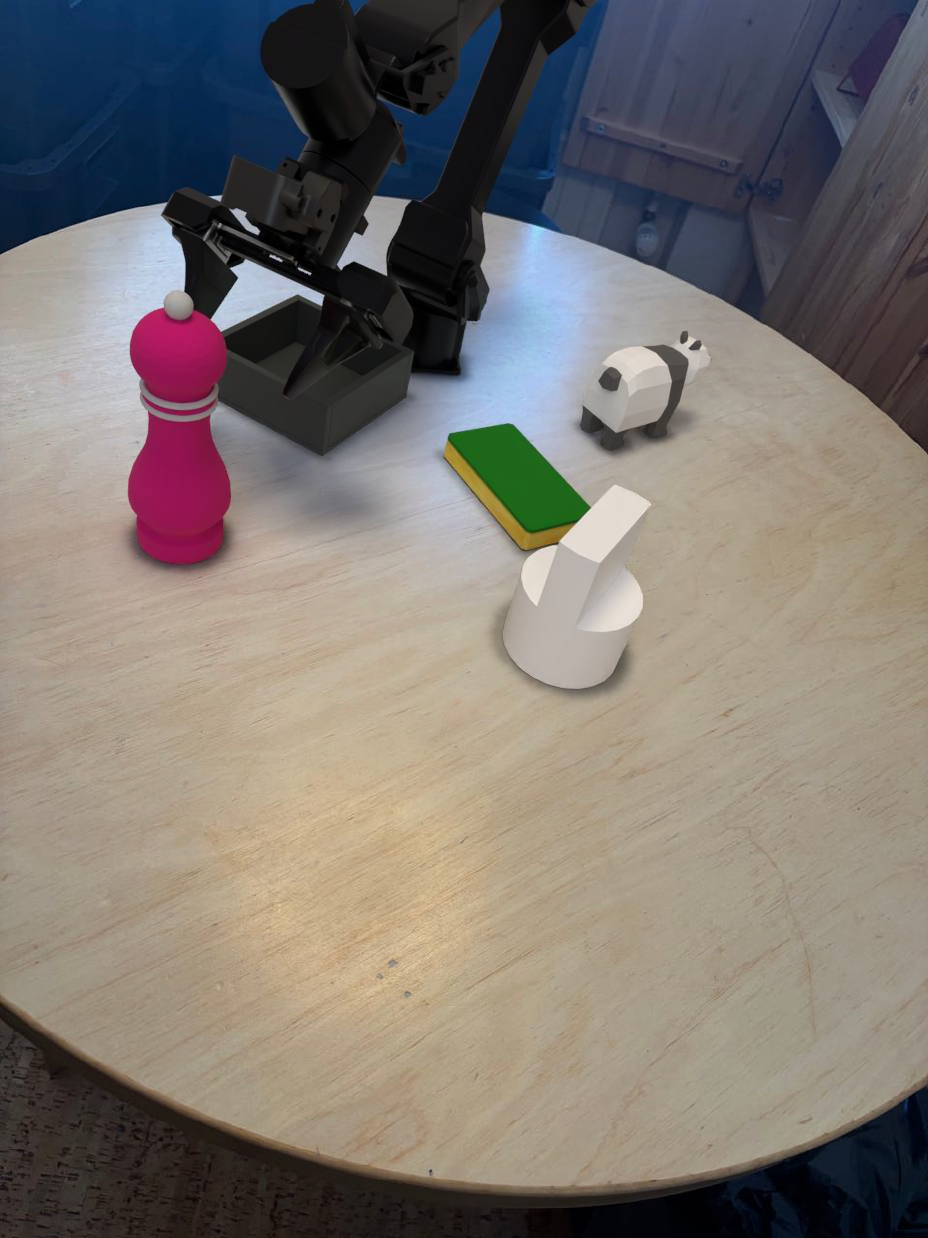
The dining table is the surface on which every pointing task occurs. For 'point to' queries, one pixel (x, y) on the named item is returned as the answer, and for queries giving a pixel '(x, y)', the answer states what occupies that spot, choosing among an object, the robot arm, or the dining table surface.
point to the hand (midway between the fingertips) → (233, 371)
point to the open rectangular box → (329, 404)
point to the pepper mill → (179, 434)
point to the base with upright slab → (579, 597)
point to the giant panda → (641, 388)
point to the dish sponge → (516, 484)
